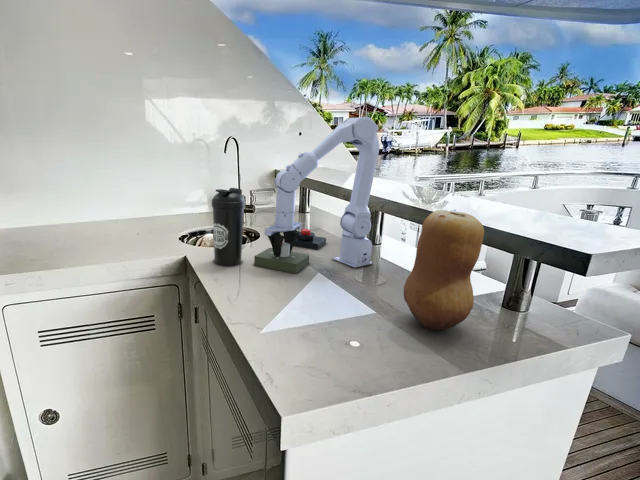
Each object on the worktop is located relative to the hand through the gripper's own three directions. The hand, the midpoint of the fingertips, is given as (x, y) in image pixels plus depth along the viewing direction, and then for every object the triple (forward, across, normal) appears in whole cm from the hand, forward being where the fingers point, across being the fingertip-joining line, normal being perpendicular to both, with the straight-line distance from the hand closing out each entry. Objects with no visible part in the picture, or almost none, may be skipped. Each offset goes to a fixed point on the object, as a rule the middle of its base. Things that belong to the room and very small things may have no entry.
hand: (282, 254), depth 119 cm
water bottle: (+3, -12, +12) cm, 18 cm away
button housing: (+3, +24, +11) cm, 27 cm away
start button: (0, +24, +11) cm, 27 cm away
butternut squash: (+3, -3, -48) cm, 48 cm away
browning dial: (0, 0, 0) cm, 0 cm away
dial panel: (+3, 0, 0) cm, 3 cm away
